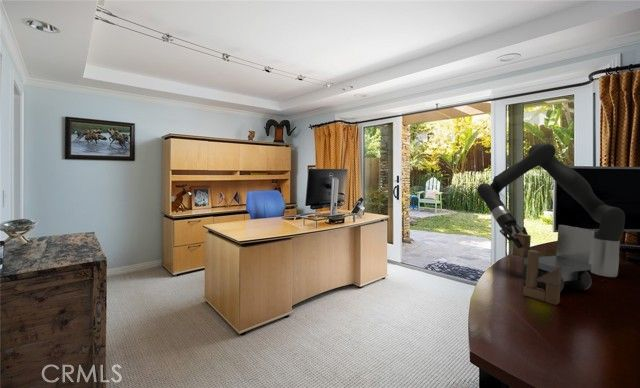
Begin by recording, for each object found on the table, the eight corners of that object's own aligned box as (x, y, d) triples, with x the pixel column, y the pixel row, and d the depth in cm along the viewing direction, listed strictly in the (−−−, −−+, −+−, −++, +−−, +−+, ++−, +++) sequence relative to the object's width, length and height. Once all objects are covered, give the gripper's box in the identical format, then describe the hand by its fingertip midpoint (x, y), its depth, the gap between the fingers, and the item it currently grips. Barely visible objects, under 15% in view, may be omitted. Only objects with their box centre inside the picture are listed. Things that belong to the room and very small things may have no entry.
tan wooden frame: (556, 305, 109) (560, 257, 108) (522, 295, 118) (525, 250, 116) (559, 303, 111) (563, 255, 110) (526, 293, 120) (529, 249, 119)
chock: (519, 254, 142) (520, 233, 141) (529, 257, 137) (530, 235, 136) (512, 254, 141) (514, 233, 140) (522, 257, 136) (523, 235, 135)
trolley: (553, 279, 137) (557, 224, 136) (593, 292, 122) (598, 230, 120) (519, 282, 132) (523, 225, 130) (556, 297, 117) (561, 232, 115)
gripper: (496, 212, 143) (517, 243, 133) (520, 211, 147) (542, 241, 136) (487, 221, 149) (506, 252, 138) (509, 220, 153) (531, 250, 142)
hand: (524, 246), depth 137 cm, fingers closed on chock, 4 cm apart
